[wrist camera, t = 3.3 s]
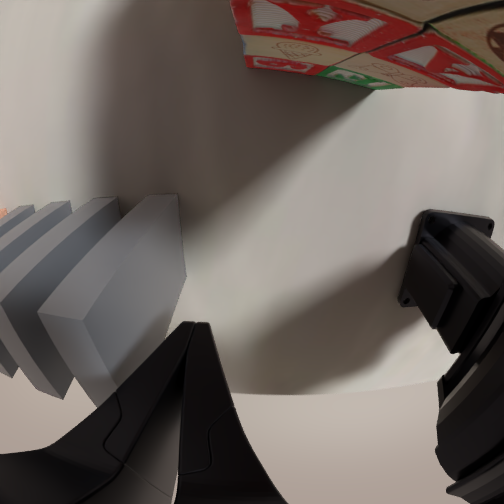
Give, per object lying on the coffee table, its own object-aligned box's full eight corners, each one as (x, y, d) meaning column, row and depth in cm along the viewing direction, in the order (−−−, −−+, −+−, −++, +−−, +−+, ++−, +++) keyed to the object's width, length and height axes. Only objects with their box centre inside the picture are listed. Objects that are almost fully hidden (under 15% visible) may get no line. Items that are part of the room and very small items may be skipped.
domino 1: (177, 193, 13) (82, 320, 5) (186, 276, 15) (139, 421, 7) (147, 194, 13) (36, 311, 5) (160, 275, 15) (100, 411, 8)
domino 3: (69, 200, 13) (-43, 290, 5) (87, 271, 15) (12, 378, 8) (51, 202, 13) (-55, 286, 5) (69, 270, 15) (-6, 369, 8)
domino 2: (117, 196, 13) (0, 302, 5) (132, 274, 15) (63, 399, 8) (93, 198, 13) (-23, 296, 5) (110, 273, 15) (36, 389, 8)
